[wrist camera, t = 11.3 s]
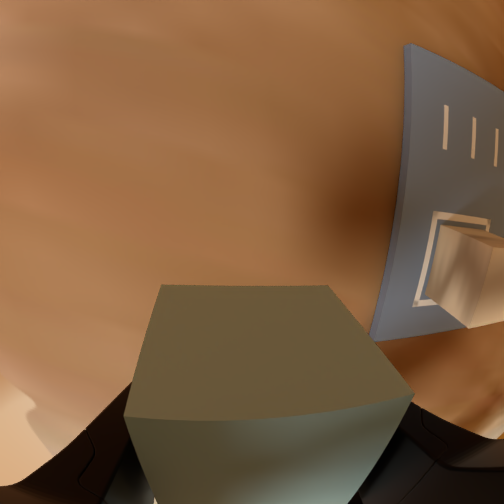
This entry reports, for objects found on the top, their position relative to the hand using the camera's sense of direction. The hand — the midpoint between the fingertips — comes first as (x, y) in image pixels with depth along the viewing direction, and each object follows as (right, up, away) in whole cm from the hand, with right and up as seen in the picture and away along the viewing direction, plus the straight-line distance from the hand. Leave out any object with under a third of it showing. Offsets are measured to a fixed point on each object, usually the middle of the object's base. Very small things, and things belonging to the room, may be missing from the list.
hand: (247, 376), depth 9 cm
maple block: (+15, +3, +10) cm, 18 cm away
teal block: (0, 0, +1) cm, 1 cm away
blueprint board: (+15, +7, +9) cm, 19 cm away
